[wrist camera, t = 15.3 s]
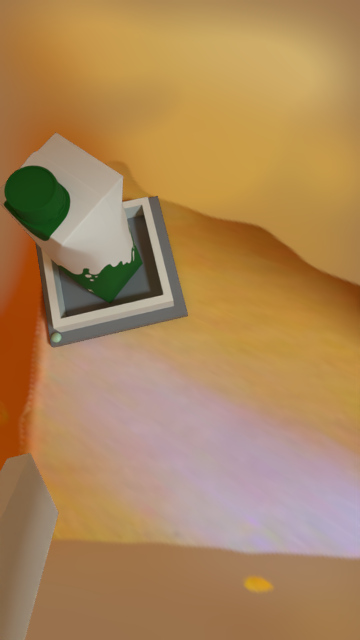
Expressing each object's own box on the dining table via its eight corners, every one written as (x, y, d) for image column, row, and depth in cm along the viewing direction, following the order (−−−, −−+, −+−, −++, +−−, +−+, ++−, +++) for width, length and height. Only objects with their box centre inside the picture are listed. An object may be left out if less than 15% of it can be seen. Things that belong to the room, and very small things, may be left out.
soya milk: (60, 276, 44) (-34, 180, 25) (103, 227, 46) (45, 100, 26) (111, 313, 43) (53, 242, 24) (153, 261, 45) (131, 155, 25)
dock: (158, 200, 48) (156, 184, 45) (187, 316, 44) (188, 309, 40) (35, 226, 47) (24, 213, 44) (54, 347, 43) (43, 343, 40)
